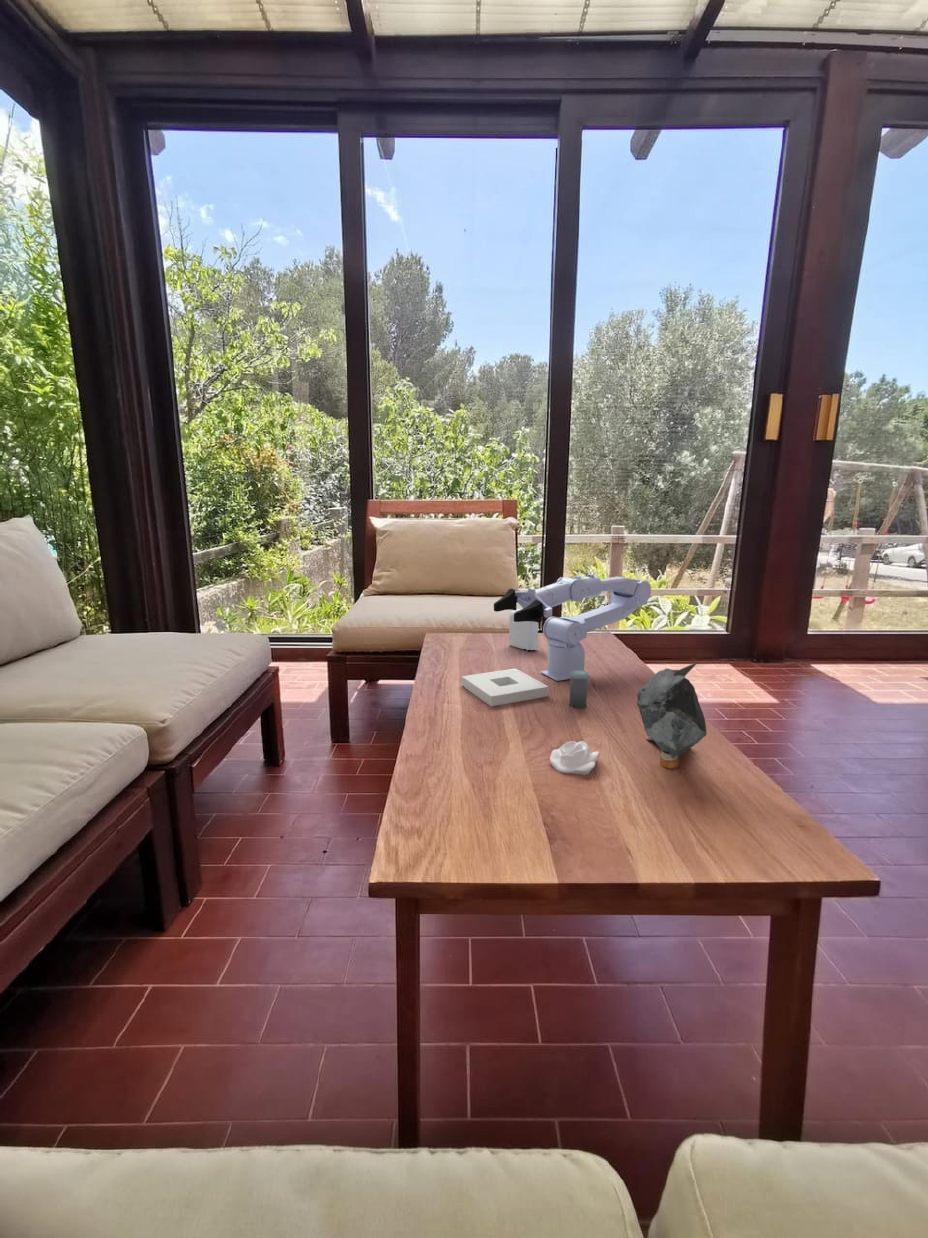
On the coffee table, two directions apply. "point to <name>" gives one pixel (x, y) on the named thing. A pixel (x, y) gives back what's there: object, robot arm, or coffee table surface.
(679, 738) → the grey rock on stand
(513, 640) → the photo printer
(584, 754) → the rose
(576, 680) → the peg
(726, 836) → the coffee table surface
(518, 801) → the coffee table surface
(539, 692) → the socket block
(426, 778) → the coffee table surface
